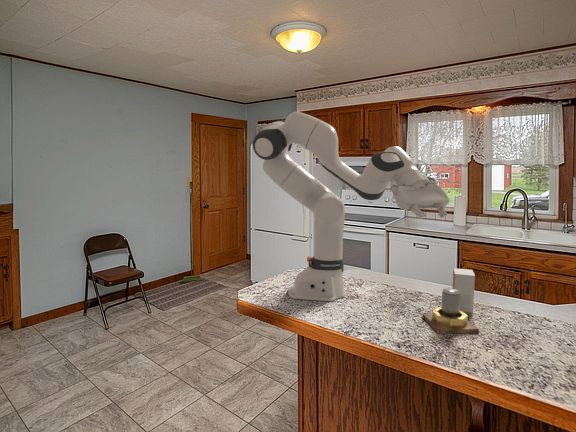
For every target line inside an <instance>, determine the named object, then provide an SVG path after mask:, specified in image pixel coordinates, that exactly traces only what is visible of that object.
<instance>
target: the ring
mask: <svg viewBox="0 0 576 432" xmlns="http://www.w3.org/2000/svg"><path fill="white" fill-rule="evenodd" d="M431 311H432V313H431V314H432V319H433V320H434V321H435V322H436V323H437V324H441V325H444V326H448V327H464V326H465V325H466V324H467V320H468V315H467V314H466V312H462V311H460V310H459V318H450V317H446V316H443V315H441V307H436V308H434V309H433V310H431Z"/></svg>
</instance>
